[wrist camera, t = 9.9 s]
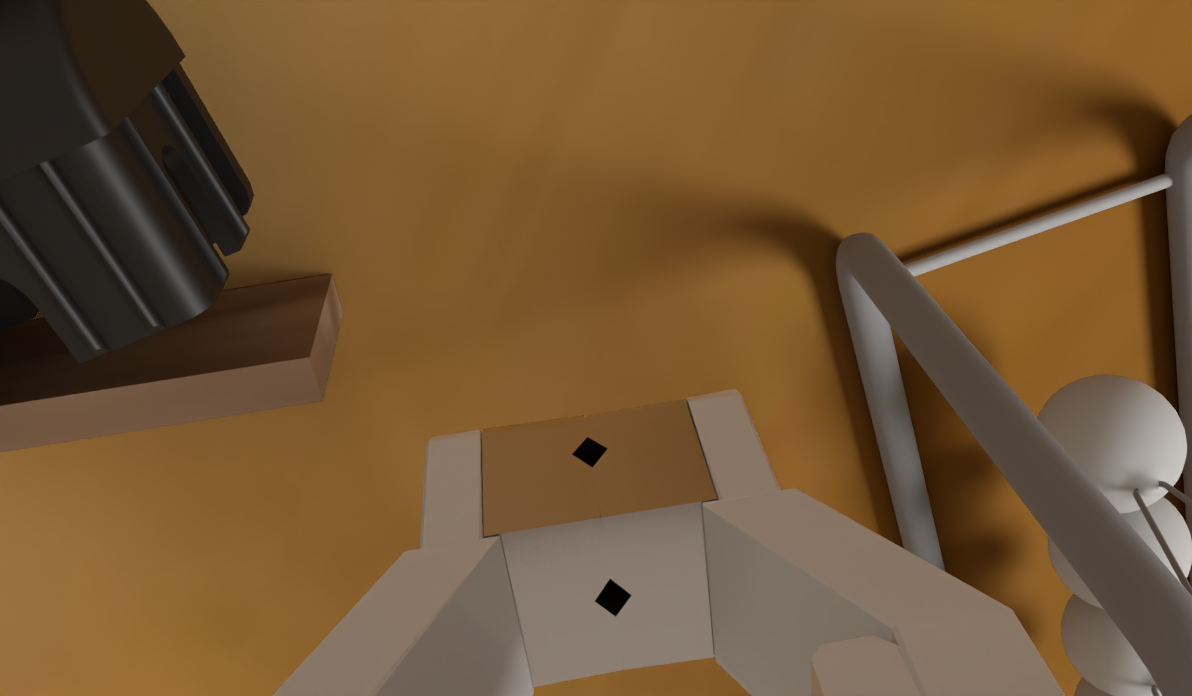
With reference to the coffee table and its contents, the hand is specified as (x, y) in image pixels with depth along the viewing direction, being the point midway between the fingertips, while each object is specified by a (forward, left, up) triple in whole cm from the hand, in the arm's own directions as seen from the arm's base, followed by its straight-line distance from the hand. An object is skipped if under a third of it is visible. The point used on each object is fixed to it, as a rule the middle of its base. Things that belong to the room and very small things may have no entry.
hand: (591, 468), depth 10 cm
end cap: (+1, -12, -18) cm, 22 cm away
